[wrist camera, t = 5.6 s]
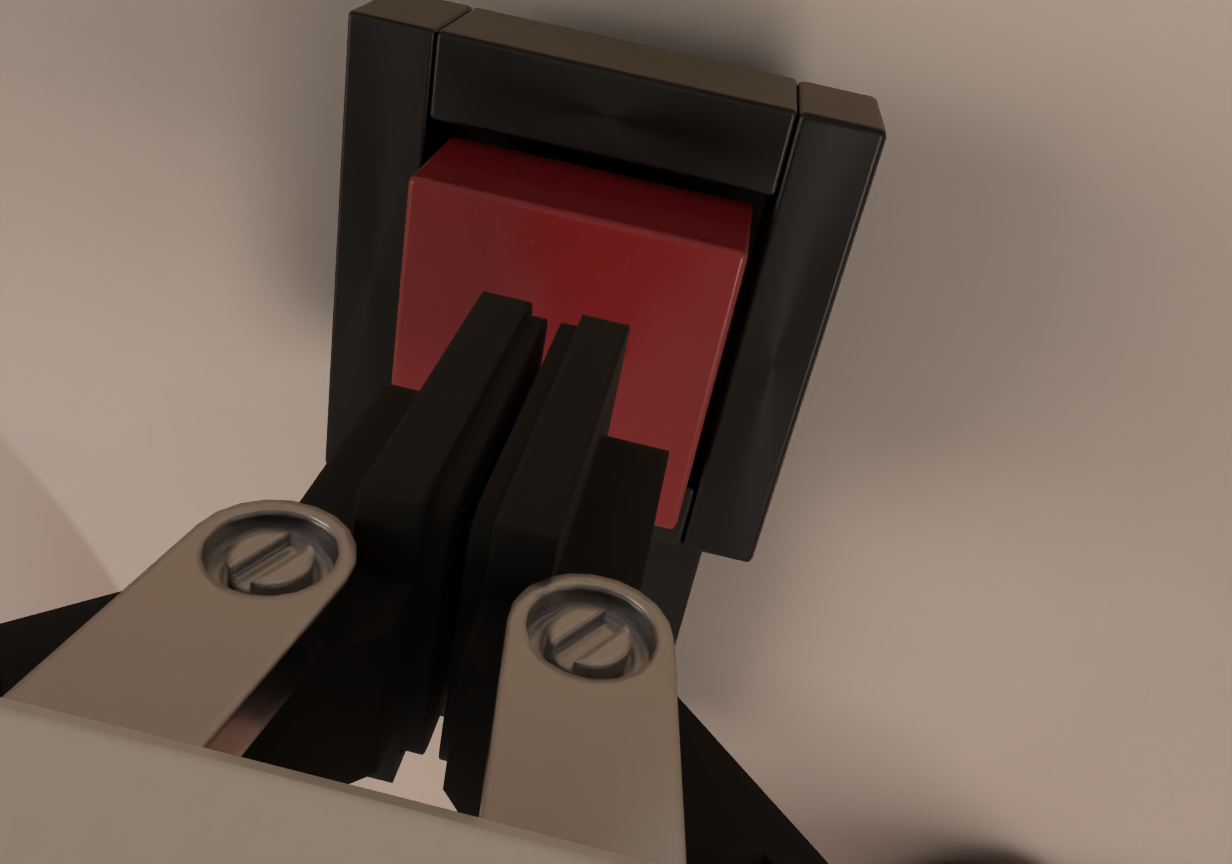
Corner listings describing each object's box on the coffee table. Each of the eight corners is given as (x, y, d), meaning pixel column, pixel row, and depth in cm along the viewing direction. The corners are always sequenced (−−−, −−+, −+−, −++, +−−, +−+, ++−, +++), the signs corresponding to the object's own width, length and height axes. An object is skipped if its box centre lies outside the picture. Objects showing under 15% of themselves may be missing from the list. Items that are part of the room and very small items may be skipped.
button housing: (433, -30, 18) (347, 10, 14) (869, 67, 17) (889, 131, 14) (374, 633, 25) (308, 763, 22) (678, 706, 25) (660, 849, 22)
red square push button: (451, 134, 15) (406, 176, 14) (753, 202, 15) (749, 254, 13) (423, 398, 18) (383, 464, 16) (686, 459, 17) (674, 532, 16)
